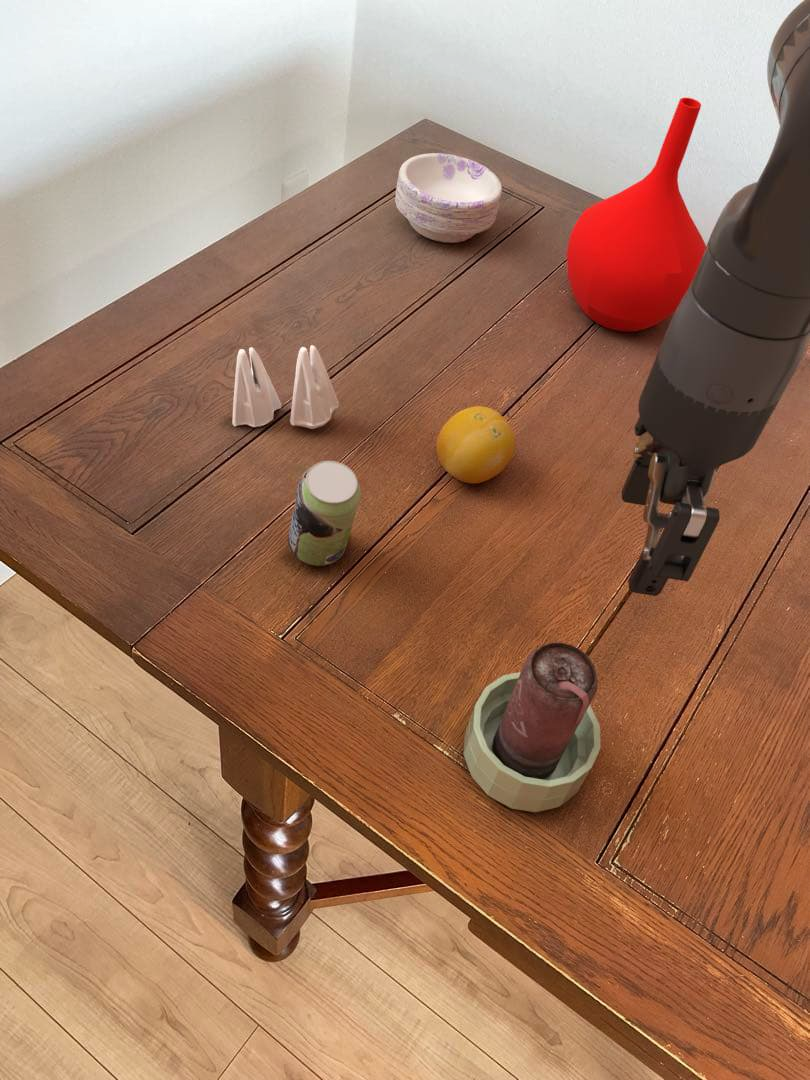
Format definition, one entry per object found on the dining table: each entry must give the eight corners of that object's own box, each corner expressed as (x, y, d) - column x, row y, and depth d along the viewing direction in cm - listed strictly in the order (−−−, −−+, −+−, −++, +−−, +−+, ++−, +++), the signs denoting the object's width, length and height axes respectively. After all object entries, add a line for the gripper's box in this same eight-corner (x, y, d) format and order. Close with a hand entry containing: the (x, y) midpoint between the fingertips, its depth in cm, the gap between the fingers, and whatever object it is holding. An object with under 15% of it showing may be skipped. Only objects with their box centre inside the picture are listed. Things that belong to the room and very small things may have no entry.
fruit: (476, 508, 108) (490, 456, 102) (419, 471, 111) (430, 419, 105) (518, 468, 113) (534, 417, 107) (462, 434, 116) (475, 382, 110)
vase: (539, 326, 132) (602, 112, 110) (566, 259, 144) (628, 54, 122) (669, 367, 130) (760, 157, 108) (686, 295, 142) (771, 93, 120)
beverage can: (325, 518, 104) (334, 437, 95) (363, 564, 101) (377, 484, 92) (274, 540, 101) (279, 458, 92) (312, 588, 98) (321, 508, 89)
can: (528, 800, 85) (570, 718, 74) (477, 749, 88) (511, 663, 77) (572, 761, 88) (619, 677, 78) (522, 713, 91) (560, 625, 80)
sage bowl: (581, 713, 92) (598, 682, 88) (584, 823, 85) (602, 795, 81) (466, 694, 92) (477, 662, 88) (458, 803, 84) (470, 774, 80)
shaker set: (337, 414, 115) (346, 339, 107) (335, 438, 112) (344, 363, 104) (236, 402, 114) (236, 326, 106) (231, 426, 111) (231, 350, 103)
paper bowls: (485, 203, 151) (496, 155, 145) (497, 259, 142) (509, 210, 136) (389, 194, 149) (396, 145, 143) (394, 250, 139) (402, 200, 133)
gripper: (807, 459, 52) (700, 632, 64) (767, 304, 62) (680, 480, 74) (670, 437, 52) (589, 615, 64) (651, 285, 61) (583, 465, 73)
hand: (638, 543), depth 69 cm, fingers open, 8 cm apart
